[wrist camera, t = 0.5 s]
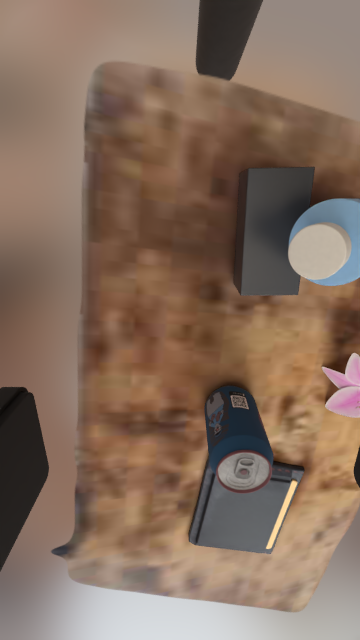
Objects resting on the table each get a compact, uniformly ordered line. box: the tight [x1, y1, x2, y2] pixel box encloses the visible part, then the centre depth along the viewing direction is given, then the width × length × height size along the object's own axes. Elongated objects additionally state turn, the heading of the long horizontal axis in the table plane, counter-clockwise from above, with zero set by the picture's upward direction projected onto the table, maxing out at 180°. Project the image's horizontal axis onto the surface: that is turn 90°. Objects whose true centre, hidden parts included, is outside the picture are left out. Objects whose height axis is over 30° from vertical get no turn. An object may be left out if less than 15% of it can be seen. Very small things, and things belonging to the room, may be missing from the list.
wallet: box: [189, 457, 304, 554], centre depth 49 cm, size 20×2×15 cm
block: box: [234, 167, 315, 295], centre depth 32 cm, size 12×6×5 cm, turn 1°
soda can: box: [205, 386, 273, 494], centre depth 37 cm, size 7×7×12 cm
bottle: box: [288, 198, 360, 286], centre depth 27 cm, size 14×7×16 cm, turn 91°
